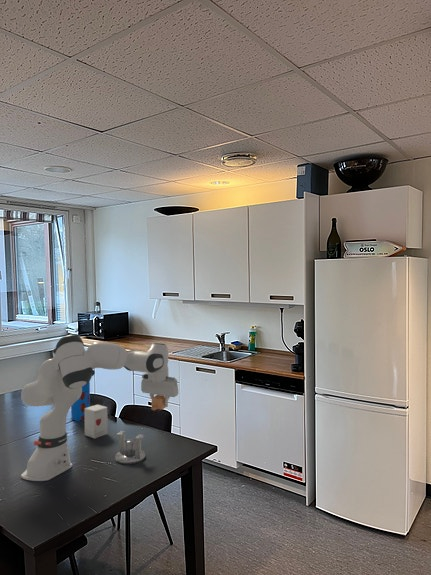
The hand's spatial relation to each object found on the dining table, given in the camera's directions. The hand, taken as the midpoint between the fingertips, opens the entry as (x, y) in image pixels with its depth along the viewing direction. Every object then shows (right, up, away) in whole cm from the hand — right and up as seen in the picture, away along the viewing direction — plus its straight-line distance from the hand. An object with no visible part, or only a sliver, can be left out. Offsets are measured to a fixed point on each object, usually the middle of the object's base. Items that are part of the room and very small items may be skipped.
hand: (159, 403), depth 210 cm
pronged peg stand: (-13, -24, -8) cm, 28 cm away
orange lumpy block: (0, -2, 0) cm, 2 cm away
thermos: (-55, -23, +50) cm, 78 cm away
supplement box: (-38, -24, +23) cm, 50 cm away
